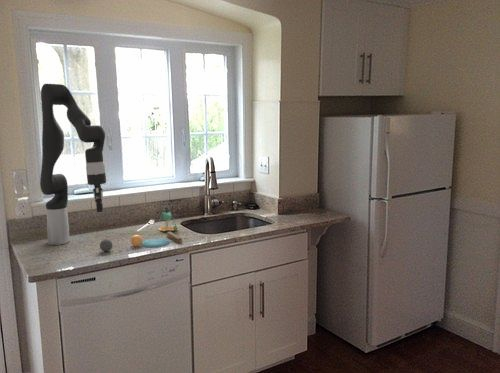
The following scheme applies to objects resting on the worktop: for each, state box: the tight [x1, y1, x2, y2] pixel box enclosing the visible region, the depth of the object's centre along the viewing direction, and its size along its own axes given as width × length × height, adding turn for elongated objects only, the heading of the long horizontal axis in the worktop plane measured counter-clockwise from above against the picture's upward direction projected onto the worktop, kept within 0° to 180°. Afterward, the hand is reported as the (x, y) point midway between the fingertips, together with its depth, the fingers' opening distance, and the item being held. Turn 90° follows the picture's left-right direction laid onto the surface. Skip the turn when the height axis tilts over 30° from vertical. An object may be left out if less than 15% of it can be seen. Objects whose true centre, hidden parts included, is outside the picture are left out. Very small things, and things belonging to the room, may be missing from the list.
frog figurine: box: [158, 205, 180, 235], centre depth 234 cm, size 10×18×15 cm, turn 30°
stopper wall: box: [166, 231, 183, 245], centre depth 217 cm, size 2×14×2 cm, turn 32°
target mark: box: [140, 238, 171, 249], centre depth 212 cm, size 14×14×1 cm
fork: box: [136, 219, 155, 232], centre depth 243 cm, size 3×20×2 cm, turn 169°
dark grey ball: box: [99, 239, 113, 253], centre depth 200 cm, size 6×6×6 cm
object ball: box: [129, 234, 143, 248], centre depth 207 cm, size 6×6×6 cm
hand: (100, 210), depth 189 cm, fingers open, 8 cm apart
